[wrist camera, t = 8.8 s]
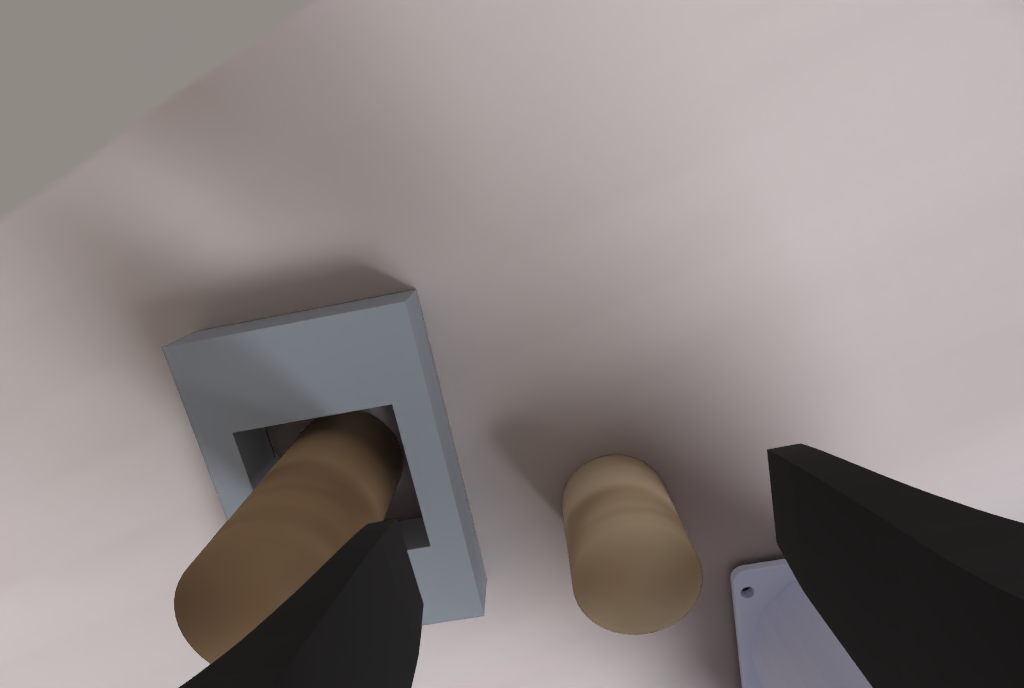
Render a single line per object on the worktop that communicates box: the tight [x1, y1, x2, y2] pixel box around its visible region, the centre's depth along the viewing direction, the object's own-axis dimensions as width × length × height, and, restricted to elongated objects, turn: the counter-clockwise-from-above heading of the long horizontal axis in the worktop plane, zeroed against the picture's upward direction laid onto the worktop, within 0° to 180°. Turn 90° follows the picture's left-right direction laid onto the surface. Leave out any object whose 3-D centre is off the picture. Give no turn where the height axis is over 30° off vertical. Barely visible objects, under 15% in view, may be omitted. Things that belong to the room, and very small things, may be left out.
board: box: [162, 289, 487, 625], centre depth 21 cm, size 12×8×2 cm, turn 11°
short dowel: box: [562, 455, 703, 635], centre depth 20 cm, size 4×4×4 cm
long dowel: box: [174, 411, 403, 664], centre depth 18 cm, size 4×4×8 cm
